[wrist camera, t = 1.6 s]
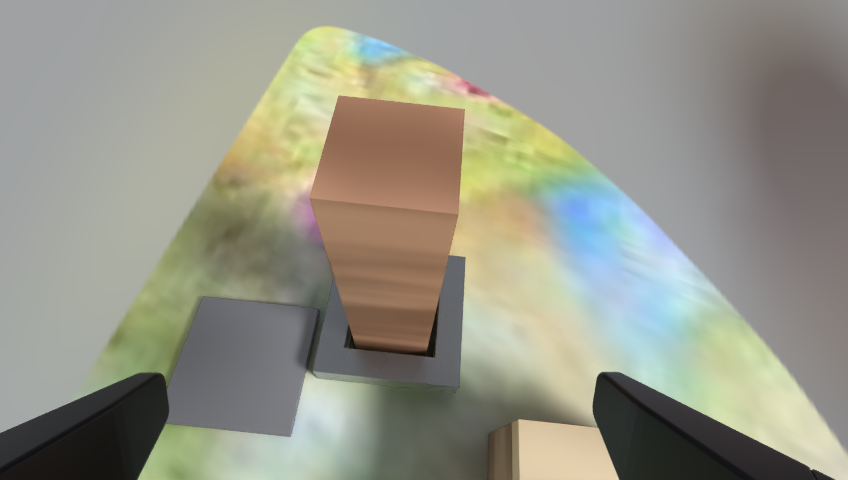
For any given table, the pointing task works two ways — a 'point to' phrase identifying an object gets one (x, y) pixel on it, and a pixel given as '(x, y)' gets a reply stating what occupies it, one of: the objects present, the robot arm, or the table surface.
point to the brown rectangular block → (389, 215)
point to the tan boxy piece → (500, 454)
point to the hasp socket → (391, 367)
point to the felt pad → (242, 367)
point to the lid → (559, 452)
